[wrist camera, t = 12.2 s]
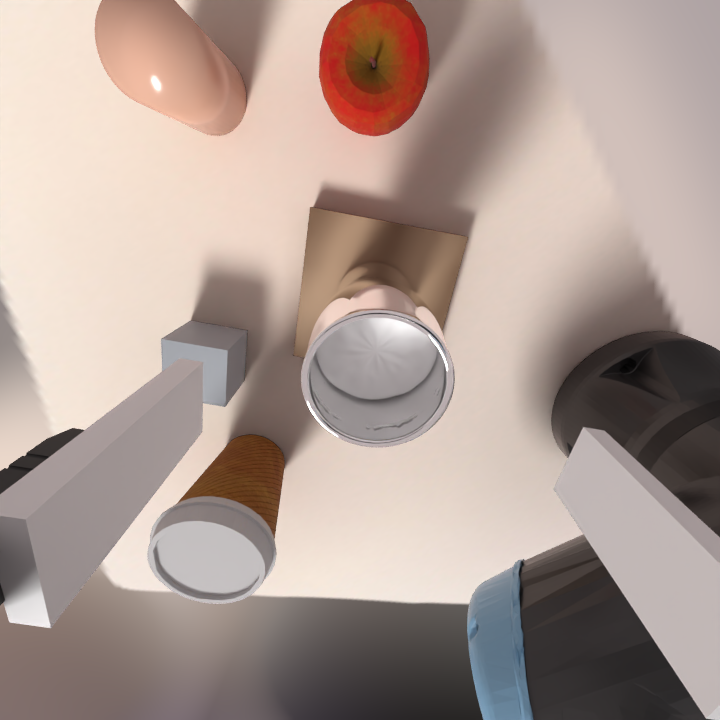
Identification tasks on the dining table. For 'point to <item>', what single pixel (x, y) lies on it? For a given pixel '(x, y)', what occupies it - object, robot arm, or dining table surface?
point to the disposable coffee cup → (222, 526)
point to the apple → (374, 65)
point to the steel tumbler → (377, 361)
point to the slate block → (210, 357)
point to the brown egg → (169, 64)
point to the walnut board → (373, 244)
